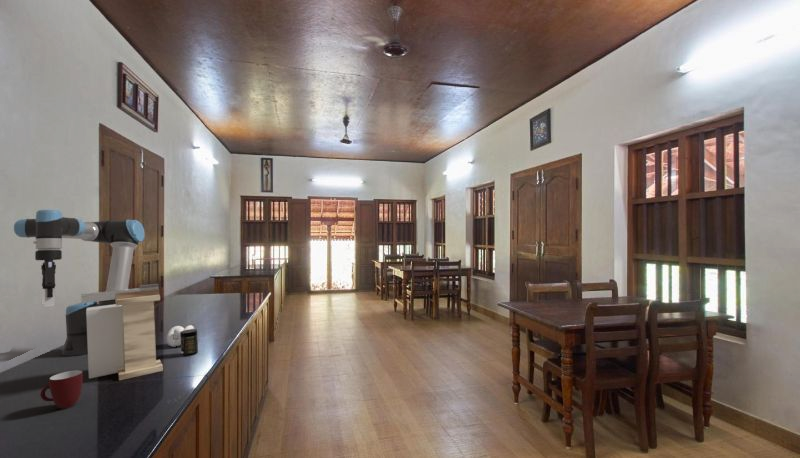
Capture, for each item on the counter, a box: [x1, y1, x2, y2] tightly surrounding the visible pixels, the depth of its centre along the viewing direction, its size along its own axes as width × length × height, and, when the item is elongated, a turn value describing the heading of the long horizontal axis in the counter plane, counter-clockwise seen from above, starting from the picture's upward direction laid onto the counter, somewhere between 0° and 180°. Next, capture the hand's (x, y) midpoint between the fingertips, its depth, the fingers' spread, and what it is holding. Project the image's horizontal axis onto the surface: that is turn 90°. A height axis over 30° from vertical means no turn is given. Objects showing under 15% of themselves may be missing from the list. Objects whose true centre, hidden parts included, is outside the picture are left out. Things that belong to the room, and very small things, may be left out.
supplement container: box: [180, 328, 199, 357], centre depth 171 cm, size 7×7×10 cm
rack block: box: [86, 304, 124, 379], centre depth 152 cm, size 8×11×26 cm
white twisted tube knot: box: [166, 324, 195, 348], centre depth 186 cm, size 11×12×9 cm
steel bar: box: [80, 283, 160, 303], centre depth 147 cm, size 3×24×4 cm, turn 128°
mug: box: [39, 369, 84, 410], centre depth 121 cm, size 11×8×10 cm
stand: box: [115, 288, 164, 381], centre depth 151 cm, size 10×14×32 cm
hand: (48, 305), depth 146 cm, fingers open, 13 cm apart
